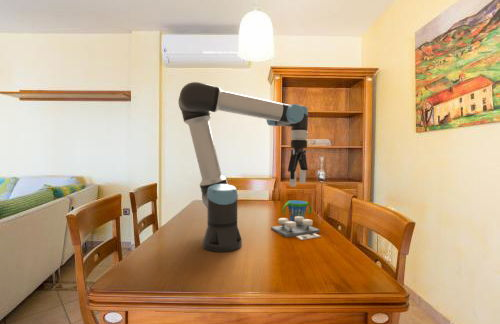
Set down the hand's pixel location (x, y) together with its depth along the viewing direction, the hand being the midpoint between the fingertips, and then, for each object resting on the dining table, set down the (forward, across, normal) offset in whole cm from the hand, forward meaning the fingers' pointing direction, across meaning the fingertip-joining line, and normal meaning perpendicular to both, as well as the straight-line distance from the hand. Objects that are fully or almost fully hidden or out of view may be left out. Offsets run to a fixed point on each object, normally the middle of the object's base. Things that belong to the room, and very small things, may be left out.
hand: (297, 184), depth 132 cm
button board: (+21, -4, -1) cm, 21 cm away
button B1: (+19, -2, -6) cm, 20 cm away
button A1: (+19, -9, 0) cm, 21 cm away
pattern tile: (+21, -10, -9) cm, 25 cm away
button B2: (+19, +2, -1) cm, 19 cm away
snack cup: (+21, +14, +5) cm, 26 cm away
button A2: (+19, -6, +5) cm, 21 cm away
